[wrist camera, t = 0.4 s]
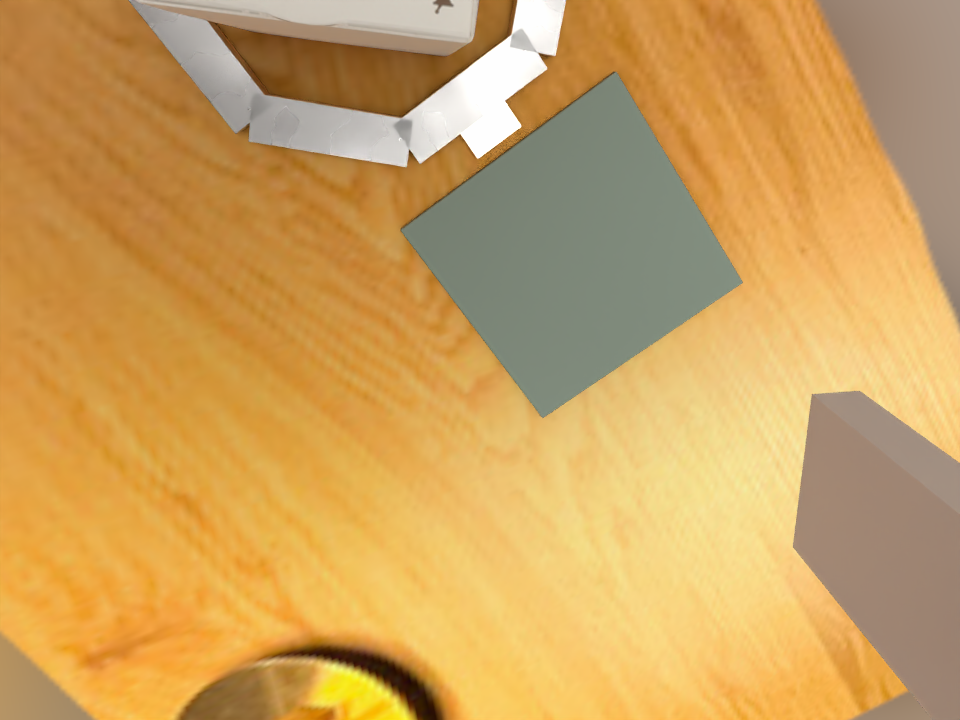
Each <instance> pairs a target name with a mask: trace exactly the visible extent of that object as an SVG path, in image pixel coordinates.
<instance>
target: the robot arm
mask: <svg viewBox="0 0 960 720" xmlns="http://www.w3.org/2000/svg"><path fill="white" fill-rule="evenodd" d="M793 548H794V549H795V550H796V551H797V553H798V554H799V555H800V556H801V558H802V559H803V560H804V561H805V563H806V564H807V565H808V566H809V568H810V569H811V570H812V571H813V572H814V574H815V575H816V576H817V577H818V579H819V580H820V581H821V582H822V584H823V585H824V586H825V587H826V589H827V590H828V591H829V592H830V594H831V595H832V596H833V597H834V599H835V600H836V601H837V602H838V603H839V605H840V606H841V607H842V608H843V610H844V611H845V612H846V613H847V615H848V616H849V617H850V618H851V620H852V621H853V622H854V623H855V625H856V626H857V627H858V628H859V629H860V631H861V632H862V633H863V634H864V636H865V637H866V638H867V639H868V641H869V642H870V643H871V644H872V646H873V647H874V648H875V649H876V651H877V652H878V653H879V654H880V656H881V657H882V658H883V659H884V660H885V662H886V663H887V664H888V665H889V667H890V668H891V669H892V670H893V672H894V673H895V674H896V675H897V677H898V678H899V679H900V680H901V682H902V683H903V684H904V685H905V686H906V688H907V689H908V690H909V691H910V693H911V694H912V695H913V696H914V698H915V699H916V700H917V701H918V702H919V704H920V705H921V706H922V708H923V709H924V710H925V711H926V713H927V714H928V715H929V716H930V717H931V719H932V720H960V463H959V462H957V461H956V460H955V459H953V458H952V457H951V456H949V455H948V454H946V453H945V452H944V451H942V450H941V449H939V448H938V447H937V446H935V445H934V444H932V443H931V442H930V441H928V440H927V439H926V438H924V437H923V436H921V435H920V434H919V433H917V432H916V431H914V430H913V429H912V428H910V427H909V426H908V425H906V424H905V423H903V422H902V421H901V420H899V419H898V418H896V417H895V416H894V415H892V414H891V413H890V412H888V411H887V410H885V409H884V408H883V407H881V406H880V405H878V404H877V403H876V402H874V401H873V400H872V399H870V398H869V397H867V396H866V395H865V394H863V393H862V392H860V391H852V392H838V393H823V394H812V398H811V406H810V414H809V422H808V430H807V438H806V446H805V454H804V462H803V470H802V478H801V486H800V494H799V502H798V510H797V518H796V526H795V534H794V542H793Z"/></svg>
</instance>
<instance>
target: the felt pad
mask: <svg viewBox="0 0 960 720" xmlns="http://www.w3.org/2000/svg"><path fill="white" fill-rule="evenodd" d="M401 232H402V233H403V234H404V236H405V237H406V238H407V240H408V241H409V242H410V244H411V245H412V246H413V248H414V249H415V250H416V252H417V253H418V254H419V256H420V257H421V258H422V259H423V261H424V262H425V263H426V265H427V266H428V267H429V269H430V270H431V271H432V273H433V274H434V275H435V277H436V278H437V279H438V281H439V282H440V283H441V285H442V286H443V287H444V289H445V290H446V291H447V292H448V294H449V295H450V296H451V298H452V299H453V300H454V302H455V303H456V304H457V306H458V307H459V308H460V310H461V311H462V312H463V314H464V315H465V316H466V318H467V319H468V320H469V321H470V323H471V324H472V325H473V327H474V328H475V329H476V331H477V332H478V333H479V335H480V336H481V337H482V339H483V340H484V341H485V343H486V344H487V345H488V347H489V348H490V349H491V351H492V352H493V353H494V354H495V356H496V357H497V358H498V360H499V361H500V362H501V364H502V365H503V366H504V368H505V369H506V370H507V372H508V373H509V374H510V376H511V377H512V378H513V380H514V381H515V382H516V384H517V385H518V386H519V387H520V389H521V390H522V391H523V393H524V394H525V395H526V397H527V398H528V399H529V401H530V402H531V403H532V405H533V406H534V407H535V409H536V410H537V411H538V413H539V414H540V415H541V417H542V418H544V417H545V416H547V415H548V414H550V413H551V412H553V411H554V410H556V409H557V408H558V407H560V406H561V405H563V404H564V403H566V402H567V401H569V400H570V399H572V398H573V397H575V396H576V395H578V394H579V393H581V392H582V391H584V390H585V389H587V388H588V387H589V386H591V385H592V384H594V383H595V382H597V381H598V380H600V379H601V378H603V377H604V376H606V375H607V374H609V373H610V372H612V371H613V370H615V369H616V368H618V367H619V366H621V365H622V364H623V363H625V362H626V361H628V360H629V359H631V358H632V357H634V356H635V355H637V354H638V353H640V352H641V351H643V350H644V349H646V348H647V347H649V346H650V345H652V344H653V343H654V342H656V341H657V340H659V339H660V338H662V337H663V336H665V335H666V334H668V333H669V332H671V331H672V330H674V329H675V328H677V327H678V326H680V325H681V324H683V323H684V322H685V321H687V320H688V319H690V318H691V317H693V316H694V315H696V314H697V313H699V312H700V311H702V310H703V309H705V308H706V307H708V306H709V305H711V304H712V303H714V302H715V301H717V300H718V299H719V298H721V297H722V296H724V295H725V294H727V293H728V292H730V291H731V290H733V289H734V288H736V287H737V286H739V285H740V284H742V283H743V282H742V280H741V279H740V277H739V275H738V274H737V272H736V270H735V269H734V267H733V265H732V264H731V262H730V260H729V259H728V257H727V255H726V254H725V252H724V250H723V249H722V247H721V245H720V244H719V242H718V240H717V239H716V237H715V235H714V234H713V232H712V230H711V229H710V227H709V225H708V224H707V222H706V220H705V219H704V217H703V215H702V214H701V212H700V210H699V209H698V207H697V205H696V204H695V202H694V200H693V199H692V197H691V195H690V194H689V192H688V190H687V189H686V187H685V185H684V184H683V182H682V180H681V179H680V177H679V175H678V174H677V172H676V170H675V169H674V167H673V165H672V164H671V162H670V160H669V159H668V157H667V155H666V154H665V152H664V150H663V149H662V147H661V145H660V144H659V142H658V140H657V139H656V137H655V135H654V134H653V132H652V130H651V129H650V127H649V125H648V124H647V122H646V120H645V119H644V117H643V115H642V114H641V112H640V110H639V109H638V107H637V105H636V104H635V102H634V100H633V99H632V97H631V95H630V94H629V92H628V90H627V89H626V87H625V85H624V84H623V82H622V80H621V79H620V77H619V75H618V74H617V72H613V73H612V74H611V75H609V76H608V77H606V78H605V79H604V80H602V81H601V82H600V83H598V84H597V85H596V86H594V87H593V88H592V89H590V90H589V91H587V92H586V93H585V94H583V95H582V96H581V97H579V98H578V99H577V100H575V101H574V102H573V103H571V104H570V105H568V106H567V107H566V108H564V109H563V110H562V111H560V112H559V113H558V114H556V115H555V116H553V117H552V118H551V119H549V120H548V121H547V122H545V123H544V124H543V125H541V126H540V127H539V128H537V129H536V130H534V131H533V132H532V133H530V134H529V135H528V136H526V137H525V138H524V139H522V140H521V141H520V142H518V143H517V144H515V145H514V146H513V147H511V148H510V149H509V150H507V151H506V152H505V153H503V154H502V155H500V156H499V157H498V158H496V159H495V160H494V161H492V162H491V163H490V164H488V165H487V166H486V167H484V168H483V169H481V170H480V171H479V172H477V173H476V174H475V175H473V176H472V177H471V178H469V179H468V180H467V181H465V182H464V183H462V184H461V185H460V186H458V187H457V188H456V189H454V190H453V191H452V192H450V193H449V194H447V195H446V196H445V197H443V198H442V199H441V200H439V201H438V202H437V203H435V204H434V205H433V206H431V207H430V208H428V209H427V210H426V211H424V212H423V213H422V214H420V215H419V216H418V217H416V218H415V219H414V220H412V221H411V222H409V223H408V224H407V225H405V226H404V227H403V228H401Z"/></svg>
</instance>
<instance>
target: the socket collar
mask: <svg viewBox="0 0 960 720" xmlns="http://www.w3.org/2000/svg"><path fill="white" fill-rule="evenodd" d="M129 2H130V3H131V4H132V5H133V7H134V8H135V9H136V10H137V11H138V13H139V14H140V15H141V16H142V18H143V19H144V20H145V21H146V23H147V24H148V25H149V26H150V28H151V29H152V30H153V31H154V33H155V34H156V35H157V36H158V38H159V39H160V40H161V41H162V43H163V44H164V45H165V46H166V48H167V49H168V50H169V51H170V53H171V54H172V55H173V56H174V58H175V59H176V60H177V61H178V63H179V64H180V65H181V66H182V68H183V69H184V70H185V71H186V73H187V74H188V75H189V76H190V78H191V79H192V80H193V81H194V83H195V84H196V85H197V86H198V88H199V89H200V90H201V91H202V93H203V94H204V95H205V96H206V98H207V99H208V100H209V101H210V103H211V104H212V105H213V106H214V107H215V109H216V110H217V111H218V112H219V114H220V115H221V116H222V117H223V119H224V120H225V121H226V122H227V124H228V125H229V126H230V127H231V129H232V130H233V131H234V132H235V134H236V133H239V132H241V131H243V130H244V129H246V128H247V127H248V126H249V125H250V128H249V142H255V143H261V144H267V145H274V146H280V147H286V148H292V149H298V150H304V151H310V152H316V153H323V154H329V155H335V156H341V157H347V158H353V159H359V160H365V161H372V162H378V163H384V164H390V165H396V166H402V167H407V161H408V154H409V149H410V151H411V152H412V153H413V155H414V156H415V158H416V159H417V160H418V162H419V163H420V164H421V163H422V162H423V161H425V160H426V159H427V158H429V157H430V156H431V155H433V154H434V153H435V152H437V151H438V150H439V149H441V148H442V147H443V146H445V145H446V144H447V143H449V142H450V141H451V140H453V139H454V138H456V137H457V136H458V135H460V134H461V135H462V137H463V138H464V140H465V141H466V143H467V144H468V146H469V147H470V148H471V150H472V151H473V153H474V154H475V156H476V157H477V158H479V157H481V156H482V155H484V154H485V153H486V152H488V151H489V150H490V149H492V148H493V147H494V146H496V145H497V144H498V143H500V142H501V141H503V140H504V139H505V138H507V137H508V136H509V135H511V134H512V133H513V132H515V131H516V130H517V129H519V128H520V127H521V125H520V123H519V122H518V120H517V119H516V117H515V116H514V114H513V113H512V111H511V110H510V108H509V107H508V105H507V104H506V102H505V100H506V99H508V98H509V97H510V96H512V95H513V94H514V93H516V92H517V91H518V90H520V89H521V88H523V87H524V86H525V85H527V84H528V83H529V82H531V81H532V80H533V79H535V78H536V77H537V76H539V75H540V74H541V73H543V72H544V71H545V70H547V67H546V65H545V64H544V62H543V61H542V59H541V57H540V56H539V55H544V56H556V51H557V45H558V40H559V35H560V29H561V24H562V19H563V13H564V8H565V3H566V0H514V1H513V7H512V13H511V19H510V25H509V31H508V36H507V37H506V38H504V39H503V40H502V41H501V42H499V43H498V44H497V45H495V46H494V47H493V48H491V49H490V50H489V51H487V52H486V53H485V54H483V55H482V56H481V57H479V58H478V59H477V60H476V61H474V62H473V63H472V64H470V65H469V66H468V67H466V68H465V69H464V70H462V71H461V72H460V73H458V74H457V75H456V76H454V77H453V78H452V79H450V80H449V81H448V82H447V83H445V84H444V85H443V86H441V87H440V88H439V89H437V90H436V91H435V92H433V93H432V94H431V95H429V96H428V97H427V98H425V99H424V100H423V101H421V102H420V103H419V104H418V105H416V106H415V107H414V108H412V109H411V110H410V111H408V112H407V113H406V114H404V115H403V116H396V115H390V114H384V113H378V112H373V111H367V110H361V109H355V108H349V107H344V106H338V105H332V104H326V103H320V102H314V101H309V100H303V99H297V98H291V97H285V96H279V95H274V94H270V93H269V92H268V91H267V89H266V88H265V87H264V86H263V84H262V83H261V82H260V80H259V79H258V78H257V76H256V75H255V74H254V73H253V71H252V70H251V69H250V67H249V66H248V65H247V63H246V62H245V61H244V60H243V58H242V57H241V56H240V54H239V53H238V52H237V50H236V49H235V48H234V47H233V45H232V44H231V43H230V41H229V40H228V39H227V38H226V36H225V35H224V34H223V32H222V31H221V30H220V28H219V27H218V26H217V25H216V23H215V22H212V21H207V20H203V19H199V18H195V17H191V16H186V15H182V14H178V13H174V12H170V11H166V10H162V9H158V8H155V7H151V6H148V5H145V4H142V3H139V2H137V1H136V0H129Z"/></svg>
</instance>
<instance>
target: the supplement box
mask: <svg viewBox="0 0 960 720" xmlns="http://www.w3.org/2000/svg"><path fill="white" fill-rule="evenodd" d="M136 1H137V2H139V3H142V4H145V5H148V6H151V7H155V8H158V9H162V10H166V11H170V12H174V13H178V14H182V15H186V16H191V17H195V18H199V19H203V20H207V21H212V22H216V23H220V24H224V25H228V26H232V27H236V28H240V29H244V30H248V31H252V32H258V33H265V34H272V35H279V36H286V37H294V38H301V39H308V40H316V41H324V42H332V43H339V44H347V45H355V46H363V47H371V48H379V49H388V50H396V51H404V52H412V53H421V54H429V55H437V56H448V55H450V54H452V53H454V52H455V51H457V50H458V49H460V48H462V47H463V46H465V45H467V44H468V43H470V42H472V40H473V37H474V34H475V27H476V20H477V12H478V5H479V0H136Z"/></svg>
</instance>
